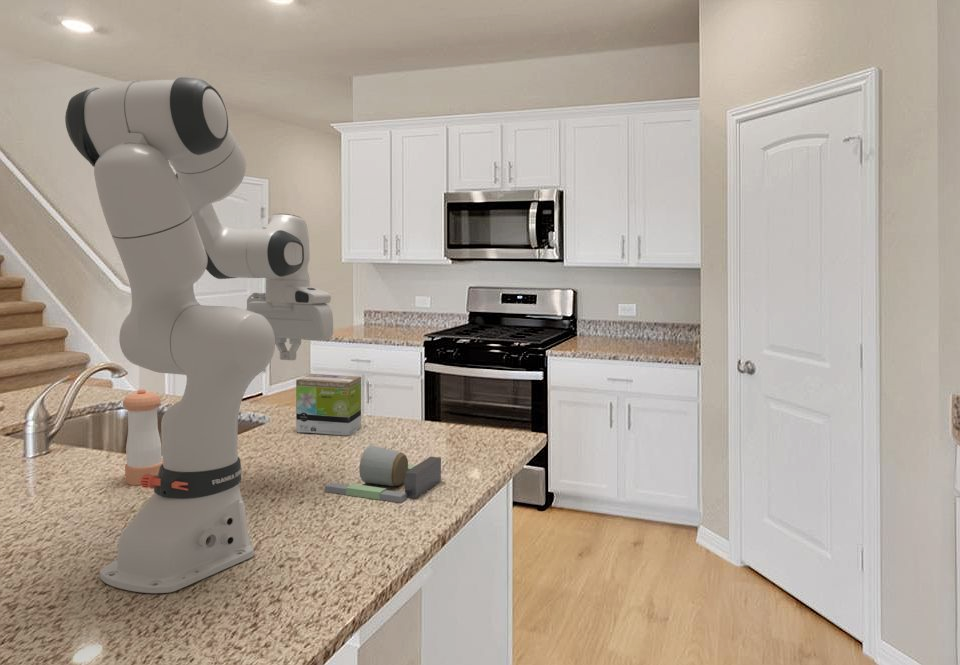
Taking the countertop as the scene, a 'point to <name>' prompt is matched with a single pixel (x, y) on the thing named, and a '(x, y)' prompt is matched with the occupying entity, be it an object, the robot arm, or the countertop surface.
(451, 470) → the countertop surface
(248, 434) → the countertop surface
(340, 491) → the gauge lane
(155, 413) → the pepper shaker
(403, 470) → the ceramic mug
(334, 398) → the tea box
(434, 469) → the dark grey rectangular block
